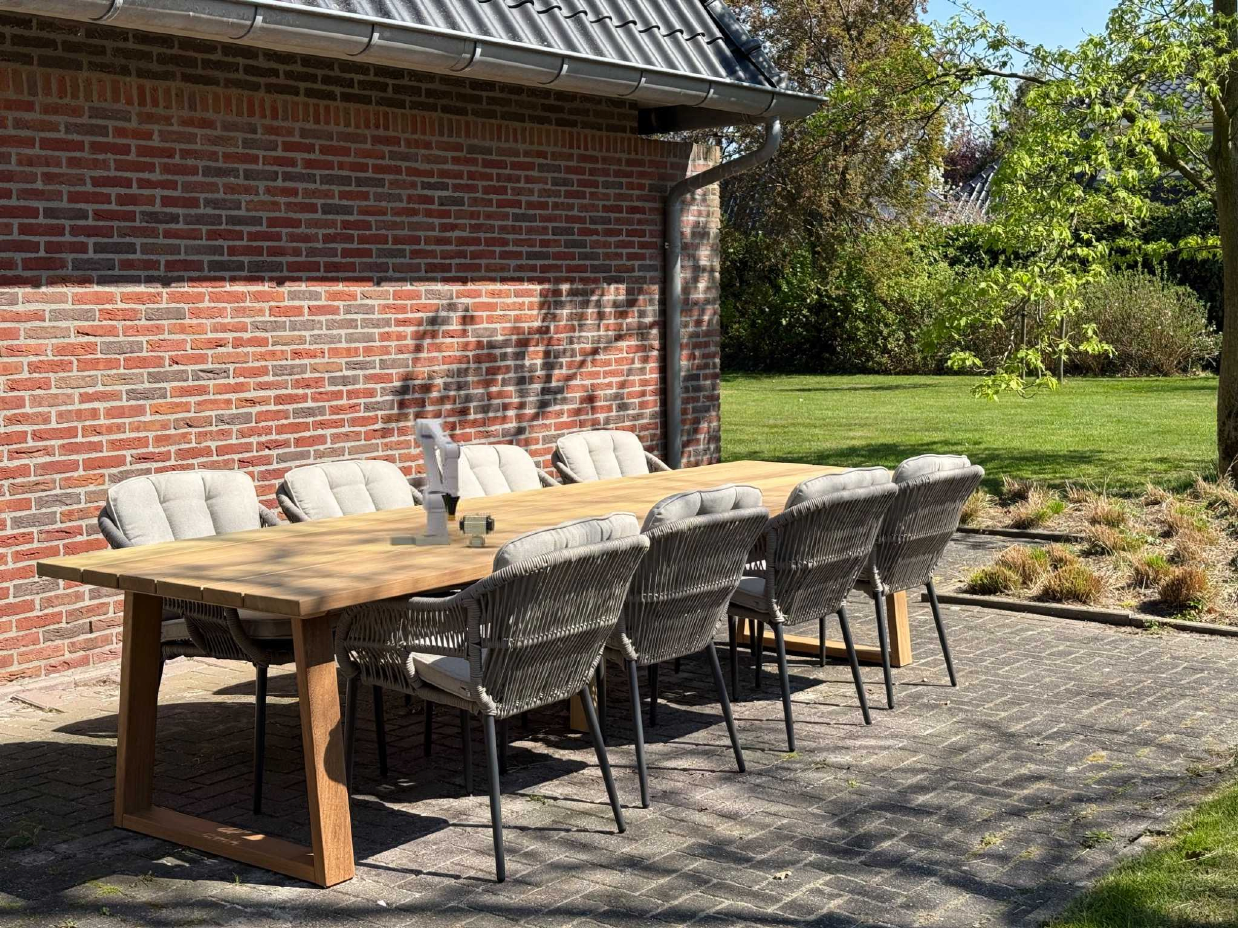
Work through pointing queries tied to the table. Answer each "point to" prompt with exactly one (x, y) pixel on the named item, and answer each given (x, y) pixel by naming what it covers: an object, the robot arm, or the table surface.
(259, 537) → the table surface
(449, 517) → the orange cylinder
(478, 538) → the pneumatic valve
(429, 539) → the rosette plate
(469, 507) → the table surface
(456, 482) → the robot arm
